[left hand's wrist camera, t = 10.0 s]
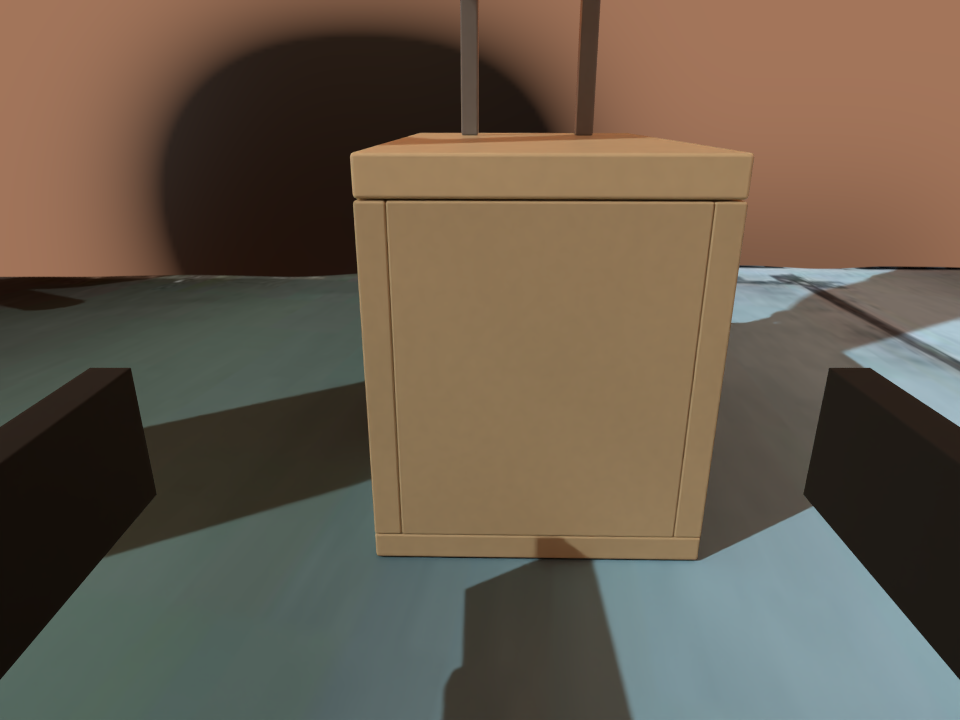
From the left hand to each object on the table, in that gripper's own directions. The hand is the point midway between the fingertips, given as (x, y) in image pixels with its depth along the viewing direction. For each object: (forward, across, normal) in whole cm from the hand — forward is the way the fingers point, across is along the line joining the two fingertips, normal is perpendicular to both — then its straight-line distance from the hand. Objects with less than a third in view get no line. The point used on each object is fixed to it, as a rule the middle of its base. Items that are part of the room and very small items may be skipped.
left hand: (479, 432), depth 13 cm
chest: (+13, +2, -7) cm, 15 cm away
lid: (+13, +2, +4) cm, 14 cm away
